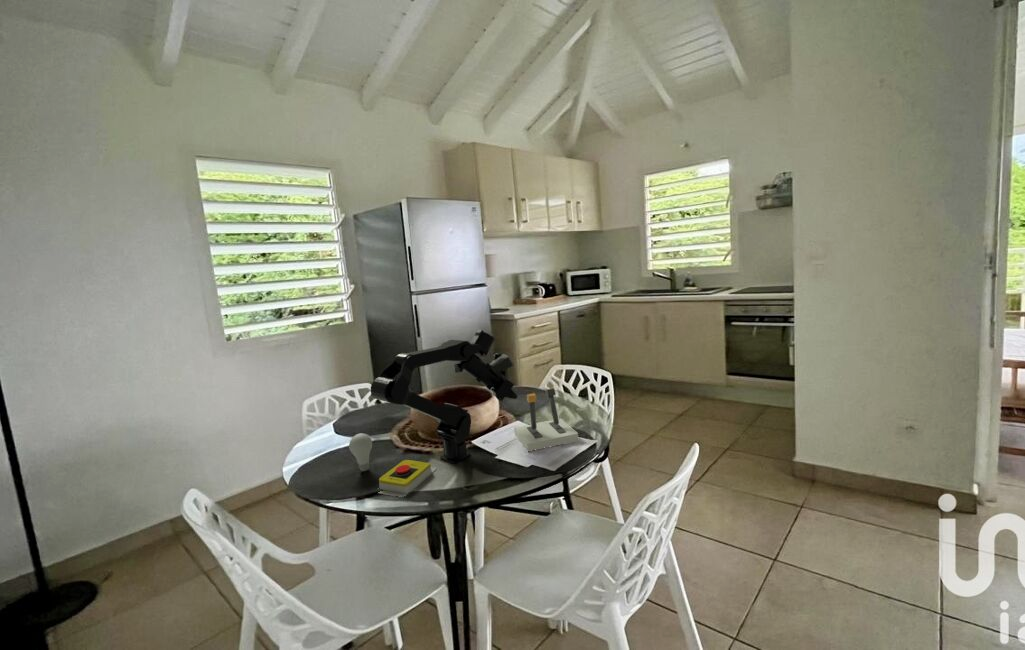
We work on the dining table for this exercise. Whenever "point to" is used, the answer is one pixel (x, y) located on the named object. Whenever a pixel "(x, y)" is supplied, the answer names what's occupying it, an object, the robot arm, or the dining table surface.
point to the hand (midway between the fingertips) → (516, 397)
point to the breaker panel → (546, 430)
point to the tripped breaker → (532, 409)
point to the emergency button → (404, 477)
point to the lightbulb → (361, 450)
